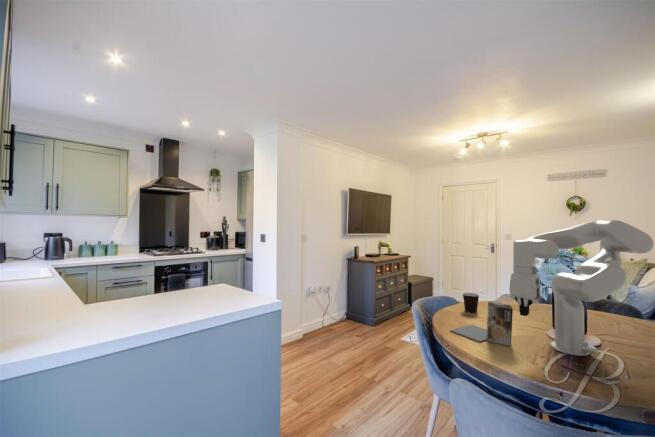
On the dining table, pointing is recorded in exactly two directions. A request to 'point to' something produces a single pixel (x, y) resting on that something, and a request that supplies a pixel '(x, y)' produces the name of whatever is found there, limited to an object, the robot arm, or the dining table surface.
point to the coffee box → (499, 323)
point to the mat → (472, 333)
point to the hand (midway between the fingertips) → (524, 315)
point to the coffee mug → (470, 302)
